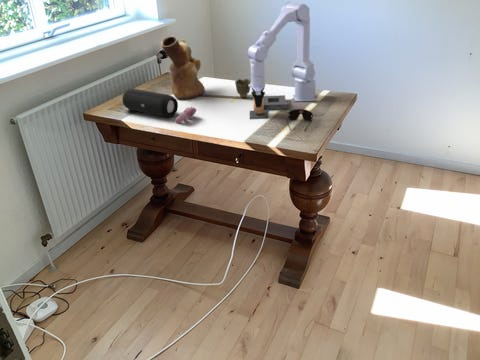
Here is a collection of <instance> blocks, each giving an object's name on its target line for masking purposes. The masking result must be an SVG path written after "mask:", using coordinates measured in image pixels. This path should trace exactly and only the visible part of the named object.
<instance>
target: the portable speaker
mask: <svg viewBox="0 0 480 360" xmlns="http://www.w3.org/2000/svg"><path fill="white" fill-rule="evenodd" d="M121 98H122V104H123V106H124V107H125V108H126V109H128V110H129V111H134V112H139V113H142V114H143V113H144V114H148V115H149V114H150V115H154V116H158V117H165V118H169V117H173V116H175V115H176V113H177V111H178V108H179V103H178V99H176V97H175V96H172V95H170V94H167V93H159V92H154V91H148V90H141V89H136V88H130V89H127V90H126V91H124V93H123V95H122V97H121Z"/></svg>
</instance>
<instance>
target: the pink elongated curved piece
mask: <svg viewBox="0 0 480 360" xmlns="http://www.w3.org/2000/svg"><path fill="white" fill-rule="evenodd" d="M197 111H198V110H197V109H196V108H195V107H193V106H190V107H186V108H185V109H184V110H183V111H182V112H181V113H180V114H179V115H178V116H177V117H176V118H175V123H176V124H180V123H182V122H184V123H186V122H188V120H191V119H192V118H193V117H194V116H195V114H196V112H197Z"/></svg>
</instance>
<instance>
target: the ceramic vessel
mask: <svg viewBox="0 0 480 360" xmlns="http://www.w3.org/2000/svg"><path fill="white" fill-rule="evenodd" d="M160 44H161V47H162V49H163V51H164V52H165V54H166V55H167V56H168V58H169V60H171V63H170V65H169V71H170V74H171V79H172V80H171V81H172V85H171V90H172V94H173V95H174V97H175V98H177V99H182V100H184V99H185V100H186V99H192V98H196V97H198V96H200V95H202V94H203V93H205V91H206V89H205V86H204V84H203V83H202V82H201V80H200V79H198V74H199V73H198V72H200V69H201V61H200V59H199V58H195V57H193V56H192V49H191V47H190V46H189V45H188V44H187V43H186V40H185V39H181V42H179V40H178V38H177V37H176V36H168V37H165V38H163V39H162V40H161V42H160Z"/></svg>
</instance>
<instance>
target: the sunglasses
mask: <svg viewBox="0 0 480 360" xmlns="http://www.w3.org/2000/svg"><path fill="white" fill-rule="evenodd" d="M300 116H302V118H303V121H307V122H309V124H308V125H307V126H306V127H305V129H304V132H306V131H307V129H308V127H310V125H311V123H313V121H312V120H313V118H314V114H313V113H312V111H310V110H308V109H302V108H295V109H292V110H289V112H288V113H287V117H286V124H287V127H288V129H289V131H292V129H291V127H290V124H289V120H290V121H297V120H298V119H299V117H300Z"/></svg>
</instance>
